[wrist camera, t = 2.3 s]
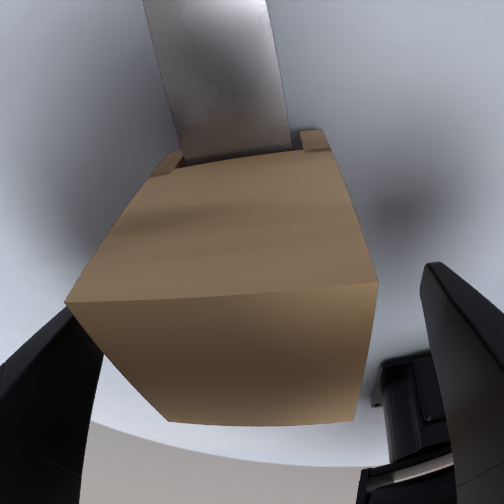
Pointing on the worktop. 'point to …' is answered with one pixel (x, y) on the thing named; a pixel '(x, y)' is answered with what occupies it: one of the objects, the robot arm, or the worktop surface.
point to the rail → (220, 77)
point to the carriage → (237, 290)
